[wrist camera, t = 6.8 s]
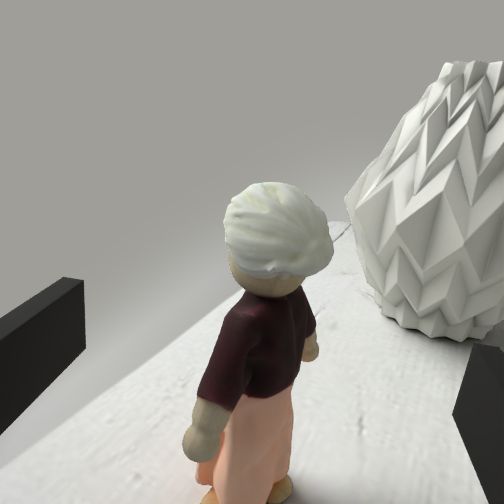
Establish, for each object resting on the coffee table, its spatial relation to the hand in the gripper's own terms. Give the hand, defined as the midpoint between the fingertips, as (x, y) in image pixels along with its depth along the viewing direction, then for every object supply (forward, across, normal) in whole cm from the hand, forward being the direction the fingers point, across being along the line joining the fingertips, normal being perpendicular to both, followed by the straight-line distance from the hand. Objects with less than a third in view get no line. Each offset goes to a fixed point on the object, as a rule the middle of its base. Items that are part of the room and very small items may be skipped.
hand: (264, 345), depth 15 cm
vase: (+20, +12, -7) cm, 25 cm away
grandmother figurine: (0, 0, -7) cm, 7 cm away
